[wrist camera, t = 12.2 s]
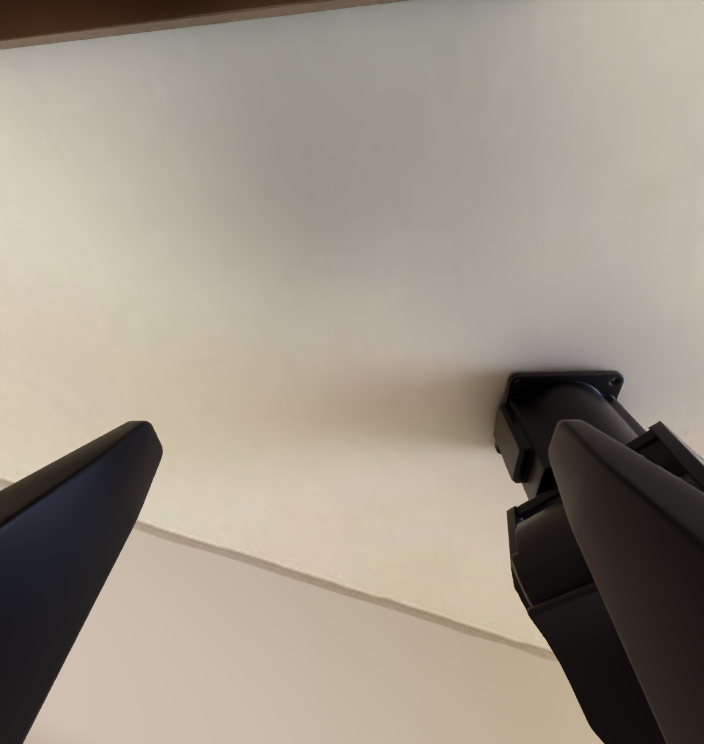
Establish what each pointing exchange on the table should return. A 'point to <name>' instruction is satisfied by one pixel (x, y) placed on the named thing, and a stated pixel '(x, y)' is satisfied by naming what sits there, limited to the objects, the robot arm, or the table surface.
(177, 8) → the shelf
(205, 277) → the table surface
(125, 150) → the table surface
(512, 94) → the table surface
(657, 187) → the table surface
